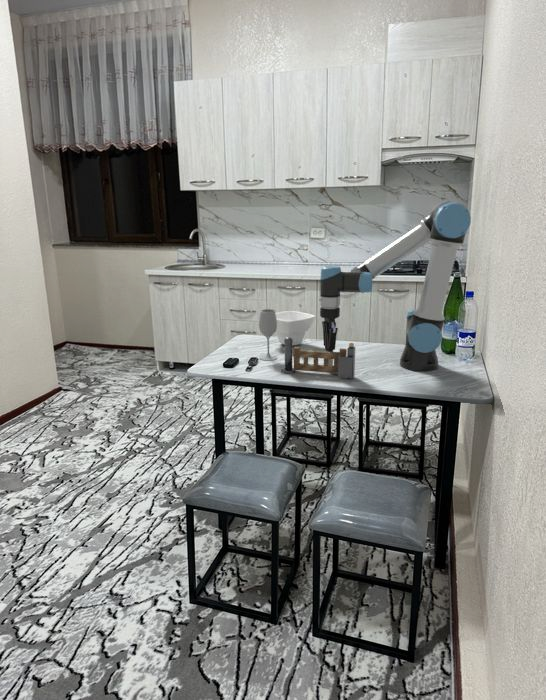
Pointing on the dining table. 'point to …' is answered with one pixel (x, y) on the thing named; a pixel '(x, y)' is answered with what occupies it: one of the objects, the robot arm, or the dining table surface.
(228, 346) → the dining table surface
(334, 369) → the gate
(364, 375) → the dining table surface
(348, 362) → the stile post
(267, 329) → the wineglass
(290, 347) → the hinge post
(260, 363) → the dining table surface
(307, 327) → the bowl
